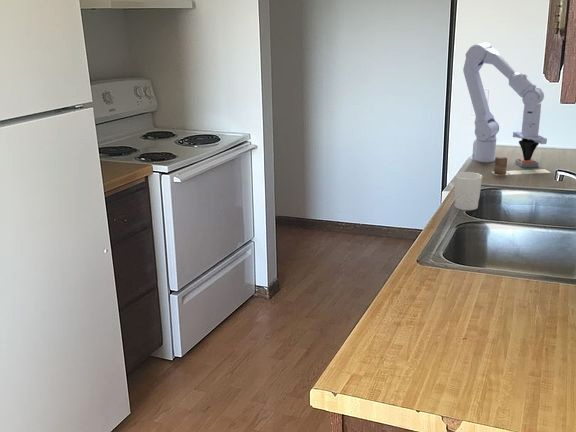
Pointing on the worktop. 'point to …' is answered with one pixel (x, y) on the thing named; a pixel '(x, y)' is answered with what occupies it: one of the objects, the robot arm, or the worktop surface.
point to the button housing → (518, 162)
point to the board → (525, 172)
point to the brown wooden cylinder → (500, 165)
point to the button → (527, 161)
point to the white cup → (467, 190)
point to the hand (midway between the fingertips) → (527, 159)
